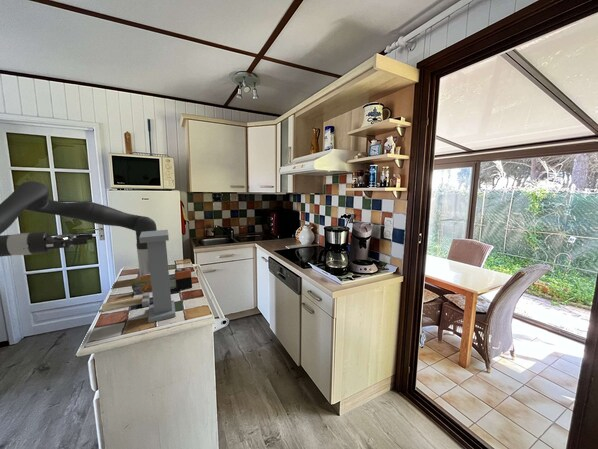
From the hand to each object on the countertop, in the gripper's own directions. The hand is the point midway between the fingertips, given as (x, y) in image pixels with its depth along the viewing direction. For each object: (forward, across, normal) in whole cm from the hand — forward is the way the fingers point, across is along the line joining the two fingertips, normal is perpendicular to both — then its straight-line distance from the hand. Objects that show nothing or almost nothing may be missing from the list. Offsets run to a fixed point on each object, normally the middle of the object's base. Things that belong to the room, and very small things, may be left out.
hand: (90, 238), depth 95 cm
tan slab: (+8, -2, -30) cm, 31 cm away
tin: (+17, -14, -30) cm, 38 cm away
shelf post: (+22, +12, -30) cm, 39 cm away
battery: (+31, -10, -30) cm, 45 cm away
